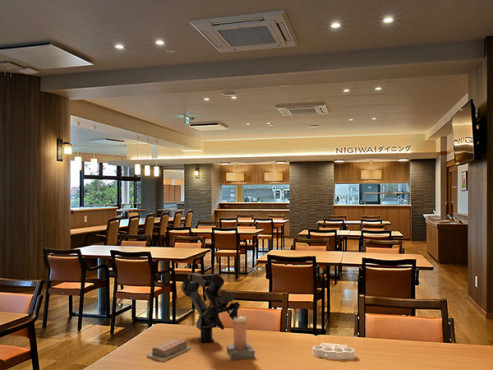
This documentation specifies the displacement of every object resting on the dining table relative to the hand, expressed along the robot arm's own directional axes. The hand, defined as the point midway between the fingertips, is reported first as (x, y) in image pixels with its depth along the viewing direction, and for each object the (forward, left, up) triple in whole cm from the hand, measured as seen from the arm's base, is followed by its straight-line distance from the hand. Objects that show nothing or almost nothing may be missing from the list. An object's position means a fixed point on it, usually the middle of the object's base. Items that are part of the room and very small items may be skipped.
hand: (231, 326), depth 195 cm
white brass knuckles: (+16, +42, -12) cm, 47 cm away
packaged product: (-6, -27, -12) cm, 30 cm away
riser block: (+5, +3, -11) cm, 13 cm away
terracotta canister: (+5, +3, -8) cm, 10 cm away
